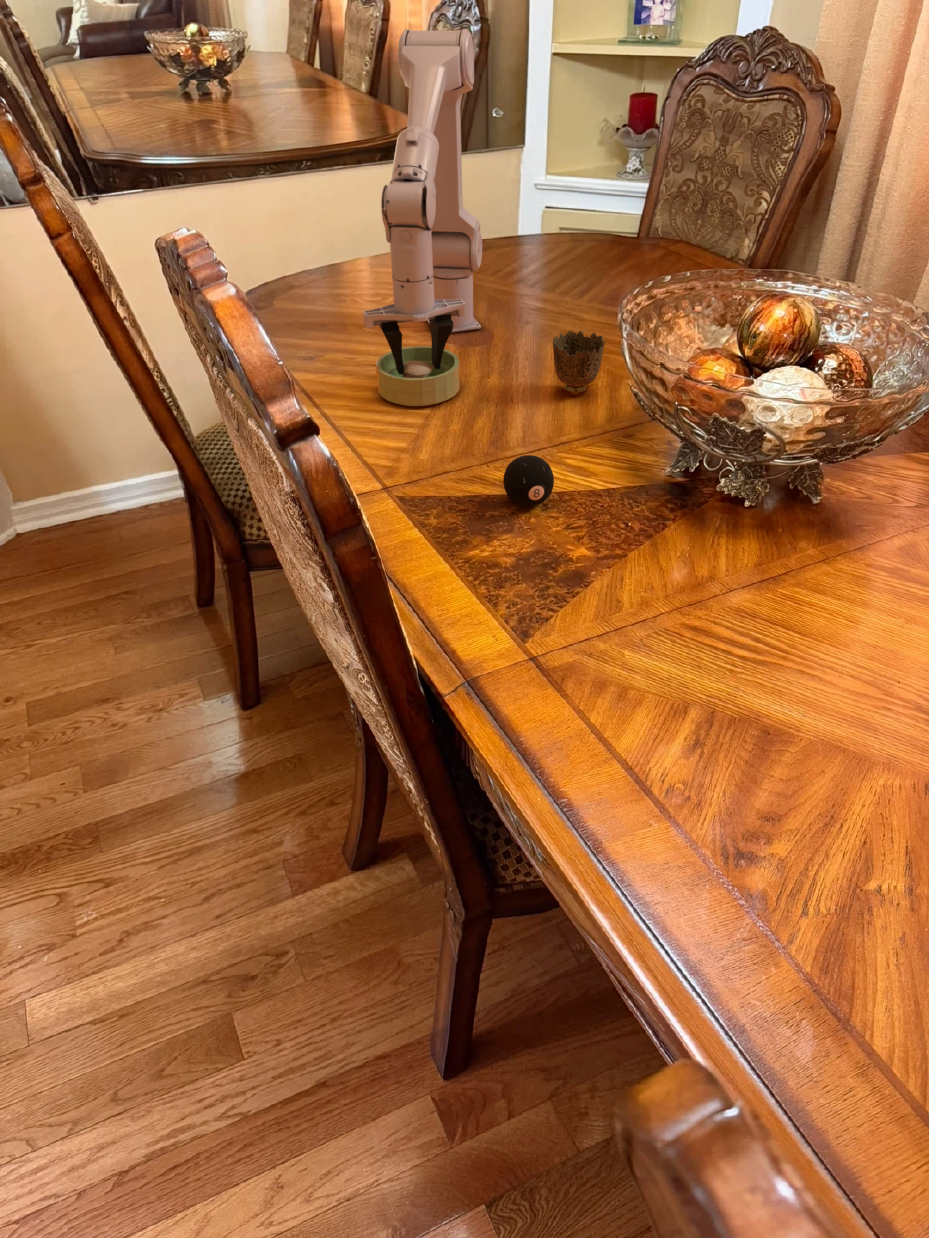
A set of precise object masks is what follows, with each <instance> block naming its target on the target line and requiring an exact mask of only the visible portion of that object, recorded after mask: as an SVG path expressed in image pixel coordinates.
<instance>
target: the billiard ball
mask: <svg viewBox="0 0 929 1238" xmlns="http://www.w3.org/2000/svg"><path fill="white" fill-rule="evenodd" d="M554 477H555V476H554V473H553V470H552V468H551V466H550V464H549V463H548V462H547V461H546V460H545V459H544V458H541V457H540V456H537V455H531V454H525V455H521V456H518V457H517V458H514V459H513V460H512V461H511V462H509V464H508V465H507V467H506V468H505V470H504V473H503V478H502V479H503V481H502V483H503V488H504V492H505V494H506V496H507V497H508V499H509V500H510V501H511V502H513V503H514V504H515V505H518V506H521V507H526V508H527V507H528V508H529V507H536V506H539V505H541V504H543V503H544V502H545V501H547V500H548V499H549V498H550V497H551V494H552V492H553V490H554V484H555V478H554Z"/></svg>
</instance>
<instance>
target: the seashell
mask: <svg viewBox="0 0 929 1238" xmlns="http://www.w3.org/2000/svg"><path fill="white" fill-rule="evenodd" d="M433 369H434V366H432V365H429V364H427V363H424V362H420V361H408V362H406V363H405V364H404V374H402V375H403V377H404V378H425V377H426V376H427V375H428V374H429V373H430V372H431V371H432V370H433Z"/></svg>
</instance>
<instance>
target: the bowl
mask: <svg viewBox="0 0 929 1238" xmlns="http://www.w3.org/2000/svg"><path fill="white" fill-rule="evenodd" d="M402 358H403V365H404V364H405V363H406V362H408V361H420V362H424V363H427V364H429V365H432V366H433V364H432V346H429V345H412V346H405V347H402ZM375 371H376V372H375V373H376V374H375V375H376V384H377V392H378V394H379V396H380V397H381V398H383V399H385V400H386V401H388V402H391V403H393V404H397V405H401V406H406V407H427V406H432V405H436V404H439V403H443V402H445V401H448V400H450V399H451V398H453V397H455V396H456V395H457V394H458V392H459V391H460V387H461V385H460V384H461V382H460V380H461V379H460V378H461V376H460V359H459V358H458V355H456V353H454V352H452V351H450V350H448V349H445V348H444V351H443V355H442V359H441V365H440V369H435V367H434V369H433V370H432V371H431V372H430V373H429V374H428V375H427V376H426V377H425V378H404V377H403V375H402V374H399V373H398V371H397V370H396V365H395V360H394V357H393V354H392V351H391V350H390V351H388V352H386V353H383V354H382V355H380V357H379V358H377V359H376V364H375Z"/></svg>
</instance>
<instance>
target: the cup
mask: <svg viewBox="0 0 929 1238" xmlns="http://www.w3.org/2000/svg"><path fill="white" fill-rule="evenodd" d="M552 339H553V340H552V350H553V363H554V365H553V366H554V372H555V374H556V375H555V376H556V377H557V379H558V380H559V381H560V382H561V383H562V384H563V387H562V388H563V390H564V392H565V393H566V394H567V395H569V396H573V397H578V396H583V395H585V394H586V393H587V392H588V390H589V385H590V384H591V383H593V382H594V381H595V380H596V378H597V376H598V375H599V372H600V368H601V365H602V364H601V363H602V360H603V359H602V358H603V354H604V348H605V345H606V341H605V340H604V338H603V335H598V336H597V333H596V332H593V333H591V334H590V336H587V335H584V331H582V330H579V331H578V332H577V333H576V332H575V331H573V330H569V331H567V333H566V334H565V335H564V334H563V333H560V334H559V336H557V335H556V336H554V337H553V338H552Z"/></svg>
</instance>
